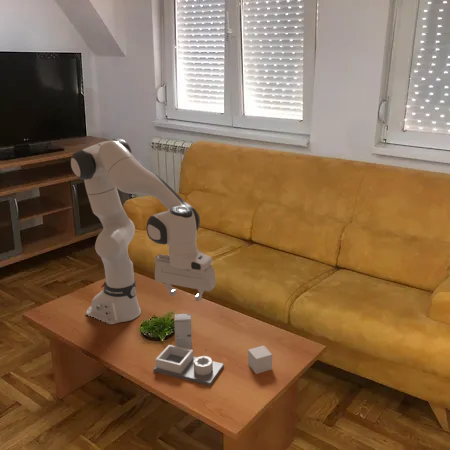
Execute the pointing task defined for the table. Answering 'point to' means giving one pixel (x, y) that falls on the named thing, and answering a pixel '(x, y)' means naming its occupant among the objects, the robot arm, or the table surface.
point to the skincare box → (183, 331)
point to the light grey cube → (260, 359)
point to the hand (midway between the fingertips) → (185, 297)
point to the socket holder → (187, 365)
